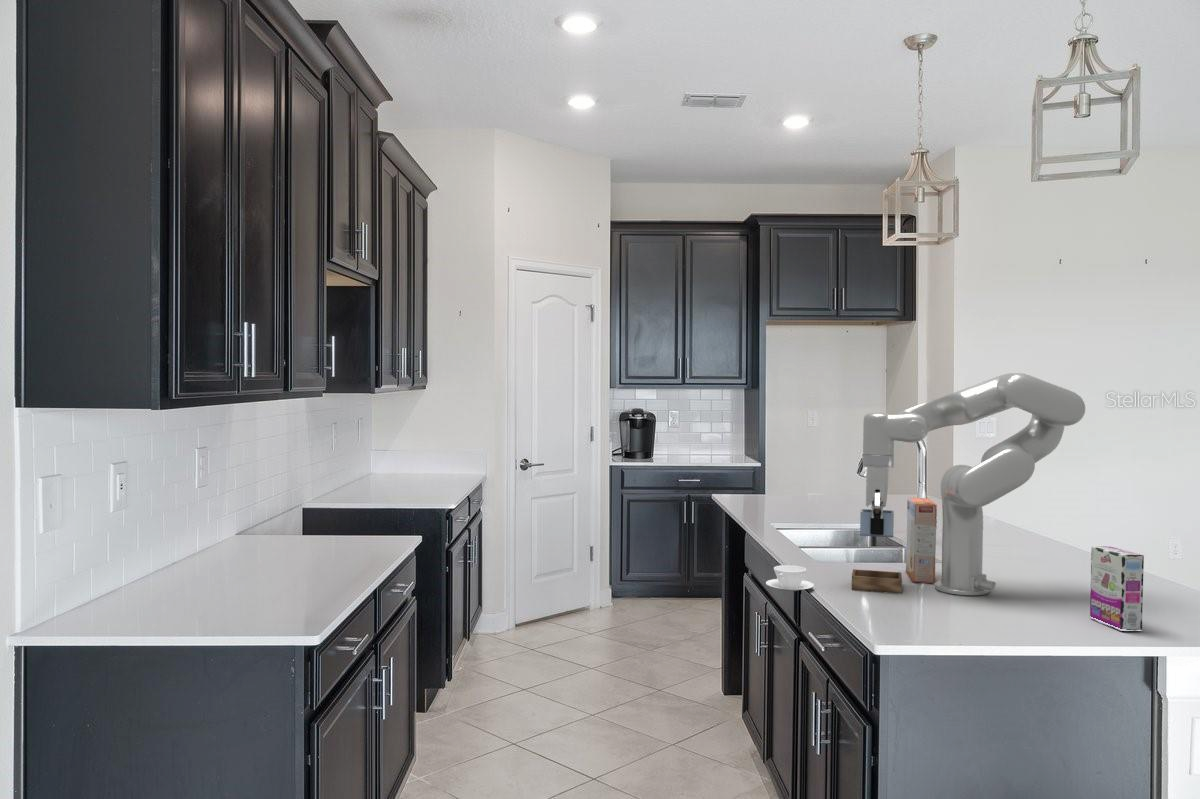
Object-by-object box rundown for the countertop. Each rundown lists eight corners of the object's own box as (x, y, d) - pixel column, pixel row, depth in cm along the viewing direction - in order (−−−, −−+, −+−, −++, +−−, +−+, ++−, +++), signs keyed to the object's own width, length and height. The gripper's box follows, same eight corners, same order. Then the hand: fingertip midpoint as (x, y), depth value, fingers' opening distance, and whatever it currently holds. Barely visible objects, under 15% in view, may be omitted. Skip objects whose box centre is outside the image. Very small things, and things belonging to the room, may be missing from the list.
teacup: (759, 591, 226) (759, 570, 226) (773, 582, 237) (773, 561, 237) (806, 596, 221) (807, 575, 221) (819, 587, 231) (819, 566, 231)
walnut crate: (901, 585, 233) (901, 572, 233) (901, 593, 224) (901, 579, 224) (852, 582, 236) (852, 569, 236) (851, 590, 228) (851, 576, 228)
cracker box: (936, 584, 235) (937, 503, 235) (912, 582, 237) (913, 503, 236) (928, 572, 249) (929, 497, 249) (905, 571, 250) (906, 496, 250)
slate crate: (893, 534, 231) (893, 510, 231) (893, 537, 226) (893, 513, 226) (860, 532, 234) (861, 509, 234) (860, 535, 229) (860, 511, 228)
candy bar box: (1144, 632, 191) (1145, 554, 191) (1121, 632, 191) (1123, 555, 190) (1109, 618, 202) (1111, 545, 202) (1088, 618, 202) (1089, 545, 201)
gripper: (863, 458, 239) (862, 526, 239) (862, 463, 223) (860, 537, 223) (893, 459, 237) (892, 528, 237) (894, 464, 220) (892, 538, 221)
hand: (876, 531), depth 230 cm, fingers closed on slate crate, 5 cm apart
